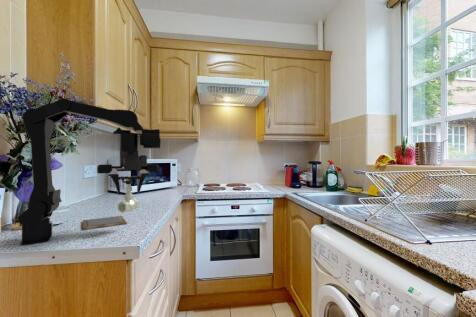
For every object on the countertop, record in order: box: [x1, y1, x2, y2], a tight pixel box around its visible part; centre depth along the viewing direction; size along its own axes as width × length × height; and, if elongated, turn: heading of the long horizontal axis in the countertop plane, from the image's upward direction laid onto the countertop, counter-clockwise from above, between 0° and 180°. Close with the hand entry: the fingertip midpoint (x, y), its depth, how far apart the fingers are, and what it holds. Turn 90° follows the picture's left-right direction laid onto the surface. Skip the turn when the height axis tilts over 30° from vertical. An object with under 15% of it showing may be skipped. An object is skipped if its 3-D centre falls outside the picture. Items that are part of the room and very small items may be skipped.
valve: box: [117, 175, 140, 214], centre depth 82 cm, size 7×7×12 cm
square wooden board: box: [82, 215, 128, 231], centre depth 93 cm, size 14×14×1 cm
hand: (128, 193), depth 82 cm, fingers closed on valve, 6 cm apart
